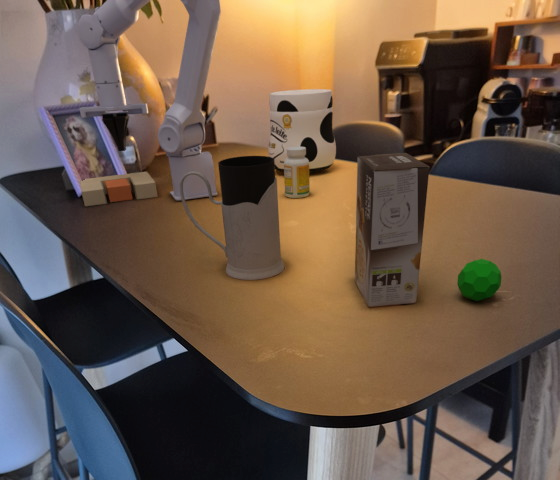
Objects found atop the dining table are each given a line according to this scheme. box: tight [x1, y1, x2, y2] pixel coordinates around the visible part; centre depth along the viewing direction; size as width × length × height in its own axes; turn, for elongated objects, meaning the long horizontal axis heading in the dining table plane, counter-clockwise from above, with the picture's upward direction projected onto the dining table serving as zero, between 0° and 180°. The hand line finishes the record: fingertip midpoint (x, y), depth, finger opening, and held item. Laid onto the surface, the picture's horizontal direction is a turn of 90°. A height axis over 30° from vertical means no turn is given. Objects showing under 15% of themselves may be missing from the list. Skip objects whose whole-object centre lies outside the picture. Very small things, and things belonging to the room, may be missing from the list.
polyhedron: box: [456, 258, 502, 302], centre depth 62 cm, size 5×5×5 cm
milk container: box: [267, 88, 337, 174], centre depth 129 cm, size 17×17×18 cm
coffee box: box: [354, 152, 431, 308], centre depth 63 cm, size 9×6×16 cm
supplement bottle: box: [283, 146, 310, 199], centre depth 109 cm, size 5×5×10 cm
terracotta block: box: [105, 178, 134, 203], centre depth 118 cm, size 5×8×3 cm, turn 20°
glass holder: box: [180, 155, 285, 281], centre depth 72 cm, size 9×14×15 cm, turn 80°
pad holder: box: [79, 171, 158, 208], centre depth 120 cm, size 16×14×3 cm
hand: (122, 150), depth 118 cm, fingers closed
